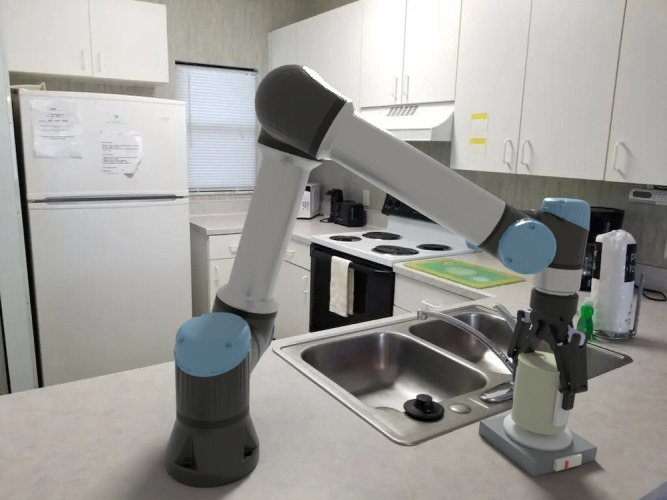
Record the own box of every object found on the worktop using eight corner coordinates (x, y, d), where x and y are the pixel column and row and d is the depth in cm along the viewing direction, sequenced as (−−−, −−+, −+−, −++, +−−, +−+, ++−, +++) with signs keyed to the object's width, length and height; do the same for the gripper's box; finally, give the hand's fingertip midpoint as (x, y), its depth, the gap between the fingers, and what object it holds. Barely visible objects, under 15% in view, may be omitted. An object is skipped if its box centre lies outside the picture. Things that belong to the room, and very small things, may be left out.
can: (551, 408, 97) (559, 349, 94) (575, 435, 88) (585, 370, 85) (503, 407, 96) (510, 347, 94) (522, 434, 87) (530, 368, 85)
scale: (538, 480, 83) (540, 461, 82) (478, 432, 97) (480, 415, 96) (600, 463, 88) (603, 445, 88) (535, 420, 102) (537, 404, 101)
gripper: (628, 306, 79) (606, 439, 83) (526, 273, 98) (512, 382, 103) (592, 310, 76) (572, 447, 80) (494, 275, 96) (482, 387, 100)
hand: (538, 411), depth 92 cm, fingers closed on can, 9 cm apart
